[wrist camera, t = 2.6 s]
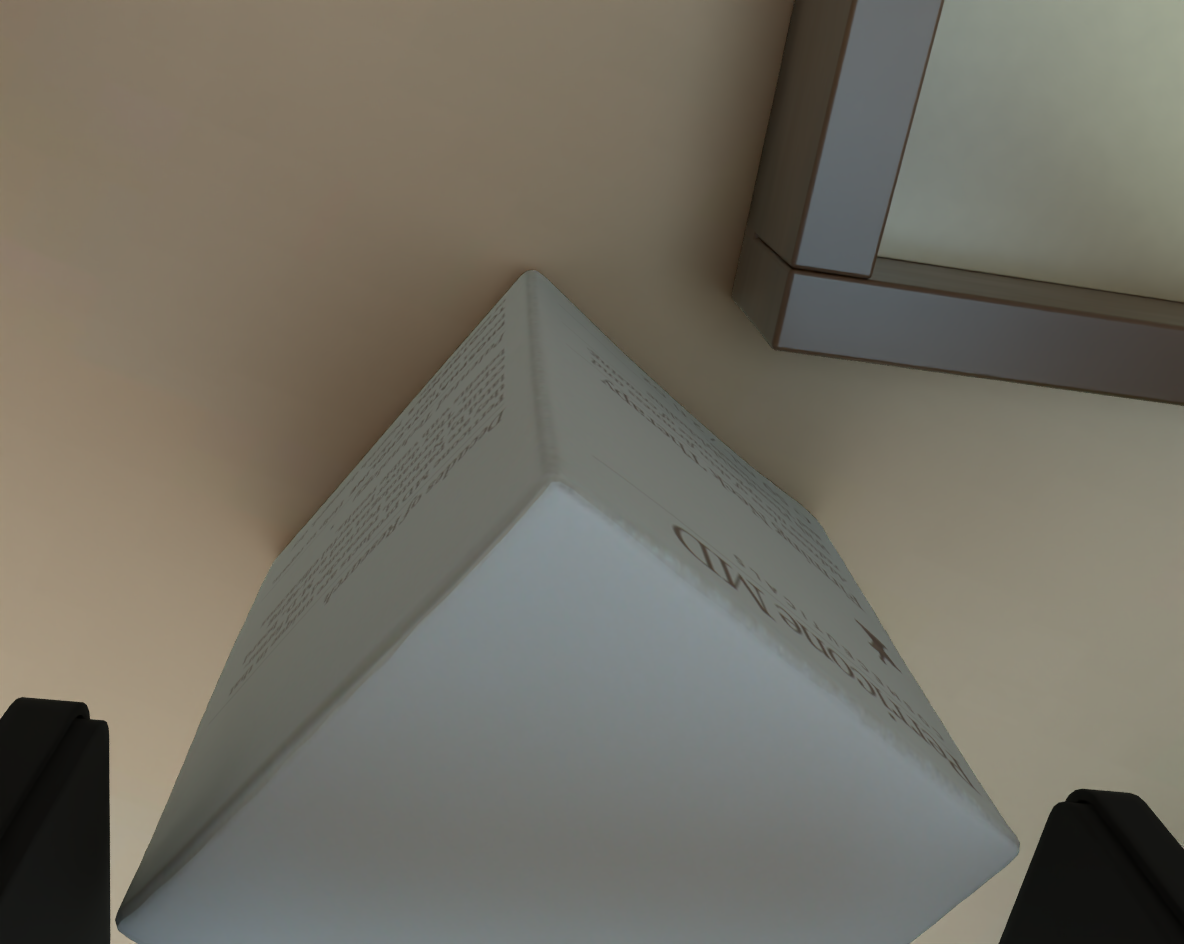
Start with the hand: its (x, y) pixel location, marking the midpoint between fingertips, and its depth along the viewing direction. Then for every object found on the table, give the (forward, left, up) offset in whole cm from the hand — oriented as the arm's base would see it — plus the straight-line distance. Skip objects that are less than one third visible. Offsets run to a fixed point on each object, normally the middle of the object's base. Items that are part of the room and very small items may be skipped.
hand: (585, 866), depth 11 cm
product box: (0, 0, -7) cm, 7 cm away
